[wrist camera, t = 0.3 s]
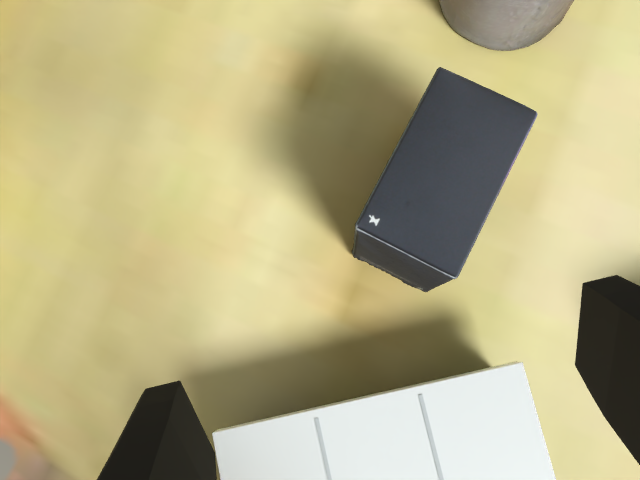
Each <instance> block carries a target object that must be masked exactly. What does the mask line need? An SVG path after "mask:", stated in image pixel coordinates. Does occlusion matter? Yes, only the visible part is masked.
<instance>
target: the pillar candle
mask: <svg viewBox="0 0 640 480" xmlns="http://www.w3.org/2000/svg"><path fill="white" fill-rule="evenodd" d="M573 1H574V0H440V6H441V9H442V12H443V14H444V17H445V18H446V20H447V22H448V23H449V25H450V26H451V28H452V29H453V30H454V31H456V32H457V33H458V34H459V35H461V36H463V37H465V38H467V39H468V40H470V41H471V42H473V43H476V44H478V45H481V46H483V47H486V48H488V49H492V50H501V51H511V50H516V49H519V48H525V47H528V46H530V45H532V44H534V43H536V42H538V41H539V40H541V39H542V38H544V37H545V36H546V35H547V34H548V33H549V32H550V31H551V30H552V29H553V28H554V27H556V26H557V25H558V24H559V23H560V22H561V21H562V19H563V18H564V16H565V14H566V12H567V11H568V9H569V8H570V6H571V4H572V3H573Z"/></svg>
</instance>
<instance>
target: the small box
mask: <svg viewBox="0 0 640 480" xmlns="http://www.w3.org/2000/svg"><path fill="white" fill-rule="evenodd" d="M536 117H537V112H536V111H534V110H532V109H530V108H528V107H526V106H525V105H522V104H520V103H518V102H516V101H514V100H512V99H510V98H507V97H505V96H503V95H501V94H499V93H496V92H495V91H492V90H490V89H488V88H486V87H483V86H481V85H479V84H477V83H475V82H473V81H470V80H468V79H466V78H464V77H462V76H459V75H457V74H455V73H453V72H450V71H448V70H446V69H443V68H441V67H439V68H438V69H437V70H436V72H435V74H434V76H433V78H432V80H431V82H430V84H429V85H428V87H427V89H426V91H425V93H424V95H423V97H422V99H421V100H420V102H419V104H418V106H417V108H416V110H415V112H414V114H413V116H412V118H411V119H410V121H409V123H408V125H407V127H406V129H405V131H404V133H403V134H402V136H401V138H400V140H399V142H398V144H397V146H396V148H395V150H394V151H393V153H392V155H391V157H390V159H389V161H388V163H387V165H386V167H385V169H384V171H383V173H382V174H381V176H380V178H379V180H378V182H377V184H376V186H375V188H374V190H373V192H372V193H371V195H370V197H369V199H368V201H367V203H366V205H365V207H364V209H363V211H362V213H361V215H360V217H359V218H358V220H357V222H356V224H355V233H354V246H353V250H352V254H353V257H354V258H357V259H358V260H361V261H365V262H367V263H369V265H373V266H374V267H376V268H378V269H381V270H382V271H385V272H386V273H388V274H390V275H392V276H393V277H396V278H398V279H400V280H402V282H403V283H406V284H408V285H410V286H412V287H415V288H418V289H420V290H422V291H424V292H428V291H429V290H431V289H433V288H435V287H437V286H440V285H442V284H444V283H446V282H448V281H450V280H452V279H456V278H457V277H458V276H459V274H460V272H461V270H462V267H463V265H464V263H465V261H466V259H467V257H468V255H469V253H470V251H471V249H472V247H473V245H474V243H475V241H476V239H477V237H478V235H479V233H480V231H481V229H482V227H483V225H484V223H485V220H486V218H487V216H488V214H489V212H490V210H491V208H492V206H493V204H494V202H495V200H496V198H497V196H498V194H499V192H500V190H501V188H502V186H503V184H504V182H505V180H506V178H507V176H508V174H509V172H510V170H511V168H512V166H513V164H514V162H515V160H516V158H517V156H518V154H519V152H520V150H521V148H522V146H523V144H524V142H525V140H526V138H527V135H528V133H529V131H530V129H531V127H532V125H533V123H534V121H535V119H536Z"/></svg>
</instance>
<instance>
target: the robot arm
mask: <svg viewBox="0 0 640 480" xmlns="http://www.w3.org/2000/svg"><path fill="white" fill-rule="evenodd" d="M575 366H576V368H577V370H578V371H579V373H580V375H581V377H582V379H583V380H584V382H585V384H586V386H587V388H588V390H589V391H590V393H591V395H592V397H593V398H594V400H595V402H596V403H597V405H598V407H599V409H600V410H601V412H602V414H603V415H604V417H605V418H606V420H607V421H608V422H609V424H610V425H611V427H612V428H613V429H614V431H615V432H616V434H617V435H618V436H619V438H620V439H621V440H622V442H623V443H624V444H625V446H626V447H627V449H628V450H629V451H630V453H631V454H632V455H633V457H634V458H635V459H636V461H637V462H638V463H639V465H640V286H638V285H636V284H634V283H632V282H630V281H628V280H626V279H624V278H622V277H620V276H618V275H615V276H610V277H606V278H602V279H598V280H594V281H590V282H586V283H583V287H582V297H581V308H580V318H579V329H578V339H577V350H576V360H575ZM97 480H217V479H216V464H215V452H214V450H213V448H212V446H211V444H210V442H209V440H208V438H207V436H206V434H205V431H204V429H203V427H202V425H201V423H200V421H199V419H198V417H197V415H196V413H195V411H194V409H193V406H192V404H191V402H190V400H189V398H188V396H187V394H186V392H185V390H184V388H183V386H182V384H181V381H176V382H172V383H168V384H164V385H160V386H155V387H151V388H147V389H145V391H144V392H143V394H142V395H141V397H140V399H139V401H138V403H137V405H136V407H135V409H134V411H133V413H132V414H131V416H130V418H129V420H128V422H127V424H126V426H125V428H124V430H123V432H122V434H121V436H120V438H119V440H118V441H117V443H116V445H115V447H114V449H113V451H112V453H111V455H110V457H109V458H108V460H107V462H106V464H105V466H104V468H103V470H102V471H101V473H100V475H99V477H98V479H97Z"/></svg>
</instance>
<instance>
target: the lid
mask: <svg viewBox="0 0 640 480" xmlns="http://www.w3.org/2000/svg"><path fill="white" fill-rule="evenodd" d="M212 435H213V440H214V446H215V451H216V457H217V462H218V468H219V473H220V479H221V480H556V478H555V474H554V471H553V467H552V464H551V460H550V457H549V453H548V450H547V446H546V443H545V439H544V436H543V432H542V429H541V425H540V422H539V418H538V415H537V411H536V408H535V404H534V401H533V397H532V394H531V390H530V387H529V383H528V380H527V376H526V373H525V369H524V366H523V362H517V361H516V362H512V363H507V364H503V365H499V366H494V367H490V368H485V369H481V370H477V371H472V372H468V373H463V374H459V375H455V376H450V377H446V378H441V379H437V380H433V381H428V382H424V383H419V384H415V385H411V386H406V387H402V388H397V389H393V390H389V391H384V392H380V393H375V394H371V395H367V396H362V397H358V398H354V399H349V400H345V401H340V402H336V403H332V404H327V405H323V406H318V407H314V408H310V409H305V410H301V411H296V412H292V413H288V414H283V415H279V416H274V417H270V418H266V419H261V420H257V421H252V422H248V423H244V424H239V425H235V426H230V427H226V428H222V429H217V430H216V431H214V432H213V433H212Z"/></svg>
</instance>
